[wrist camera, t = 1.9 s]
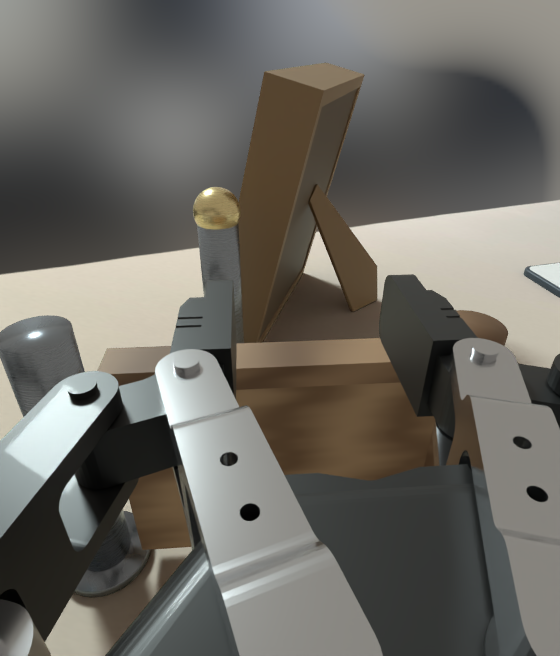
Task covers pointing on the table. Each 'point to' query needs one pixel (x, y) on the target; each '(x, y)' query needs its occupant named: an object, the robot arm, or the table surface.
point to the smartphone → (545, 276)
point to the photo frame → (297, 193)
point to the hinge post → (29, 388)
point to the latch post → (220, 243)
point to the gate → (302, 415)
